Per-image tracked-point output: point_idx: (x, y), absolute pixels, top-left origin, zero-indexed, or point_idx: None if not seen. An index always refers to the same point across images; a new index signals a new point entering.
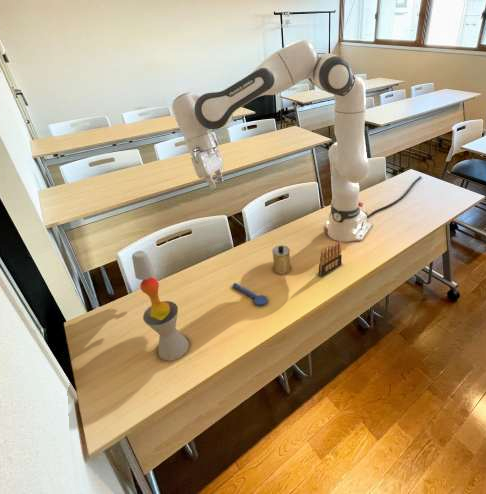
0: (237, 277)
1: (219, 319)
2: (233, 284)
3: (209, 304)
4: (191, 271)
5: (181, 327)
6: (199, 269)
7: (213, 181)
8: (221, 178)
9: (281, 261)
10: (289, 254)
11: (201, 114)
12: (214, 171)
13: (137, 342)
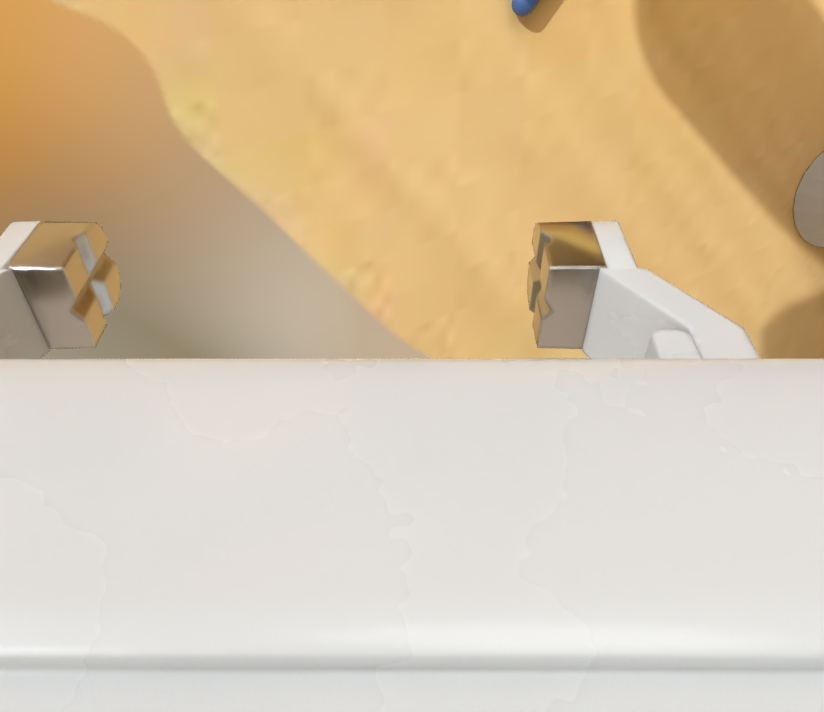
0: (438, 7)
1: (741, 38)
2: (528, 13)
3: (639, 120)
4: (387, 301)
5: (751, 203)
6: (368, 265)
7: (637, 279)
8: (63, 258)
9: None
10: None
11: None
12: (495, 363)
13: (785, 335)
